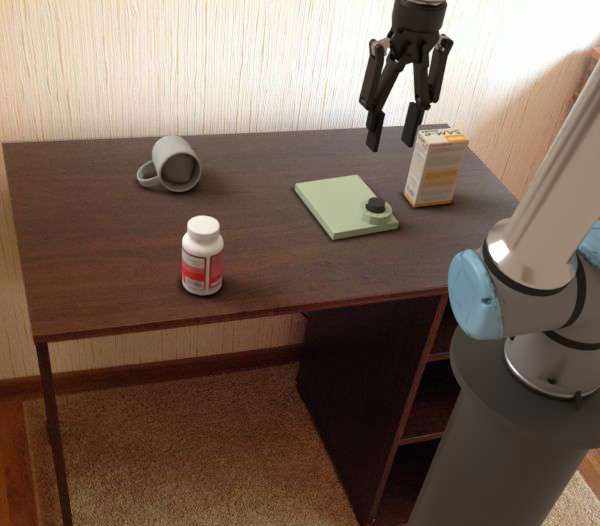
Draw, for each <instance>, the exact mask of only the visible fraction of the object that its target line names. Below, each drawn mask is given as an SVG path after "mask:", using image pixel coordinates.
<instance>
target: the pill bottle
mask: <svg viewBox="0 0 600 526" xmlns="http://www.w3.org/2000/svg"><path fill="white" fill-rule="evenodd" d="M220 228H221V227H220V222H219V221H218V219H217V218H215V217H212V216H210V215H196V216H193V217H191V218H190V219H189V220H188V221H187V229H186V233H185V234H184V235H183V237H182V240H181V278H182V279H181V281H182V286H183V287H184V289H185V290H186V291H187V292H188V293H191V294H193V295H197V296H209V295H213V294H215V293H217V292H218V291H219V290H220V289H221V287H222V286H223V285H222V284H223V273H224V272H223V271H224V270H223V269H224V268H223V267H224V247H225V245H224V243H225V242H224V239H223V237H222V235H221V234H220V231H221V229H220Z"/></svg>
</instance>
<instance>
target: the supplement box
mask: <svg viewBox="0 0 600 526" xmlns="http://www.w3.org/2000/svg"><path fill="white" fill-rule="evenodd" d="M415 140H416V141H415V143H414V144H415V145H414V149H413V153H412V158H411V161H410V165H409V170H408V175H407V178H406V182H405V186H404V191H403V196H404V197H405V198H406V200H408V202H409V204H411V206H412V207H413V208H422V207H429V206H436V205H446V204H451V203H452V201H453V198H454V195H455V191H456V188H457V184H458V182H459V179H460V175H461V171H462V168H463V164H464V161H465V158H466V154H467V151H468V148H469V144H470V138H468V136H467V135H466V134H465V133H464V132H463V131H462V130H461V129H460V128H459V127H447V128H436V129H435V128H434V129H424V130H423V129H422V130H417V136H416V139H415Z"/></svg>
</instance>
